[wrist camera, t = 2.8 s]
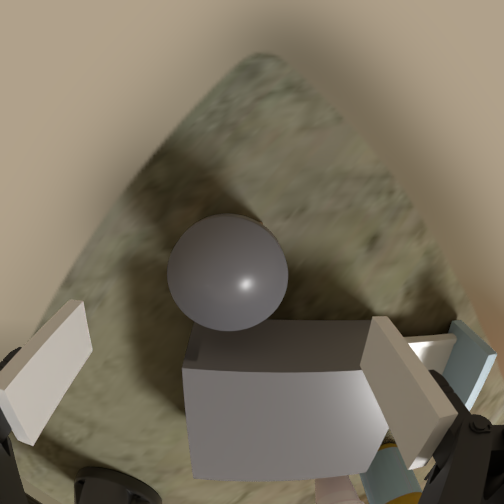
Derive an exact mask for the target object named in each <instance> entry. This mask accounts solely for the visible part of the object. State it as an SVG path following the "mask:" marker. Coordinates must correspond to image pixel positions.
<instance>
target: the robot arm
mask: <svg viewBox="0 0 504 504" xmlns="http://www.w3.org/2000/svg"><path fill="white" fill-rule="evenodd" d="M92 351H93V349H92V345H91V340H90V335H89V330H88V325H87V320H86V314H85V308H84V302H83V301H79V300H71V299H70V300H69V301H68V302H67V303H66V304H64V305H63V306H62V307H61V308H60V309H59V310H58V311H57V312H56V313H55V314H54V315H53V316H52V317H51V318H50V319H49V320H48V321H47V322H46V323H45V324H44V325H43V326H42V327H41V328H40V329H39V330H38V331H37V333H36V334H35V335H34V336H33V337H32V338H31V339H30V340H29V341H28V342H27V343H26V344H25V345H24V346H23V347H18V348H17V349H15V350H13V351H11V352H10V353H9V354H8V355H7V356H6V357H5V358H4V359H3V361H1V362H0V504H42V503H40V502H39V501H37V500H36V499H34V498H33V497H31V496H30V495H28V494H26V493H25V492H24V489H23V485H22V482H21V479H20V475H19V472H18V468H17V464H16V460H15V456H14V452H13V448H12V443H11V441H10V438H9V437H8V435H9V433H10V432H11V430H12V431H13V433H14V435H15V436H16V438H17V440H19V441H21V442H23V443H26V444H28V445H31V446H34V444H35V442H36V440H37V439H38V437H39V435H40V434H41V432H42V430H43V428H44V427H45V425H46V423H47V422H48V420H49V418H50V417H51V415H52V413H53V412H54V410H55V409H56V407H57V405H58V404H59V402H60V400H61V399H62V397H63V396H64V394H65V392H66V391H67V389H68V388H69V386H70V385H71V383H72V381H73V380H74V378H75V377H76V375H77V374H78V372H79V371H80V369H81V368H82V366H83V365H84V363H85V361H86V360H87V358H88V357H89V355H90V354H91V352H92ZM360 367H361V369H362V371H363V373H364V375H365V377H366V379H367V381H368V384H369V386H370V388H371V390H372V392H373V394H374V396H375V398H376V400H377V403H378V405H379V407H380V409H381V411H382V413H383V416H384V418H385V420H386V422H387V424H388V426H389V429H390V431H391V433H392V435H393V438H394V440H395V442H396V444H397V446H398V449H399V451H400V453H401V456H402V458H403V460H404V462H405V465H406V467H407V469H408V470H411V469H415V468H419V467H422V466H426V464H427V463H428V461H429V460H430V458H431V457H432V455H433V457H434V459H435V461H436V463H435V465H434V466H433V468H432V469H431V470H430V472H429V473H428V474H427V476H426V477H425V479H424V480H427V479H428V480H427V483H426V485H425V488H424V490H423V492H422V495H421V497H420V499H419V502H418V504H504V425H492V424H491V422H490V421H489V420H488V419H487V418H485V417H483V416H481V415H476V414H473V415H471V413H470V412H469V411H468V409H467V408H466V406H465V405H464V404H463V402H462V401H461V399H460V398H459V397H458V395H457V394H456V393H454V390H453V388H452V387H451V386H449V383H448V382H447V380H446V379H445V378H444V376H442V375H441V374H440V373H438V372H437V371H435V370H434V369H433V370H427V368H426V367H425V366H424V364H423V363H422V362H421V360H420V359H419V357H418V356H417V355H416V353H415V352H414V351H413V349H412V348H411V347H410V345H409V344H408V343H407V341H406V340H405V339H404V337H403V336H402V335H401V334H400V332H399V331H398V330H397V328H396V327H395V326H394V324H393V323H392V322H391V321H390V319H389V318H388V317H387V316H372V320H371V325H370V329H369V333H368V337H367V340H366V344H365V348H364V352H363V355H362V359H361V363H360ZM74 504H162V500H161V498H160V496H159V495H158V494H157V493H156V492H155V491H154V490H153V489H152V488H150V487H149V486H147V485H146V484H144V483H142V482H140V481H138V480H136V479H134V478H132V477H130V476H127V475H125V474H122V473H119V472H116V471H113V470H109V469H104V468H98V467H86V468H82V469H81V470H79V471H78V474H77V476H76V478H75V481H74Z"/></svg>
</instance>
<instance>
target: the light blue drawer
mask: <svg viewBox="0 0 504 504" xmlns="http://www.w3.org/2000/svg"><path fill="white" fill-rule="evenodd" d="M404 339H405V340H406V341H407V343H408V344H409V345H410V347H411V348H412V349H413V351H414V352H415V353H416V355H417V356H418V357H419V359H420V360H421V362H422V363H423V364H424V366H425V367H426V368H427V370H433V369H434V370H435V371H437V372H438V373H440V374H441V375H442V376H444V378H445V379H446V380H447V382H448V383H449V386H451V387H452V388H453V390H454V393H456V394H457V395H458V397H459V398H460V399H461V401H462V402H463V404H464V405H465V406H466V408H467V409H468V411H470V409H471V407H472V406H473V404H474V402H475V400H476V398H477V396H478V394H479V392H480V390H481V388H482V386H483V384H484V382H485V380H486V378H487V376H488V374H489V372H490V369H491V367H492V365H493V363H494V360H495V358H496V356H497V353H496V352H495V351H494V350H493V349H492V348H491V347H490V346H489V345H488V344H487V343H486V342H484V341H483V340H482V339H481V338H480V337H479V336H478V335H477V334H476V333H475V332H474V331H472V330H471V329H470V328H469V327H468V326H467V325H466V324H465V323H464V322H462V321H461V320H455V321H452V322H451V325H450V329H449V332H448V334H439V335H427V336H414V337H404Z"/></svg>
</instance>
